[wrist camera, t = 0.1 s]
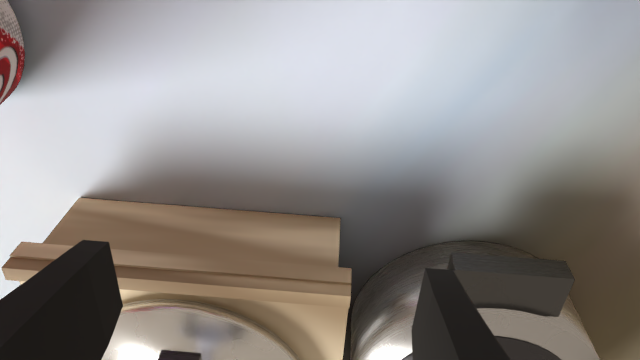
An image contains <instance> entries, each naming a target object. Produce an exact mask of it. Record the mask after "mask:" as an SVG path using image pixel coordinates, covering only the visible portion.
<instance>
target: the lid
mask: <svg viewBox="0 0 640 360" xmlns="http://www.w3.org/2000/svg"><path fill="white" fill-rule="evenodd" d="M101 360H300V358H299V357H298V355H297V354H296V353H295V352H294V351H293V350H292V349H291V347H290V346H289V345H288V344H287V343H286V342H284V341H283V340H282V339H281V338H280V337H279V336H278V335H276V334H275V333H273V332H272V331H270V330H269V329H267V328H266V327H265V326H263V325H261V324H259V323H257V322H256V321H254V320H252V319H250V318H248V317H246V316H243V315H241V314H239V313H236V312H234V311H231V310H228V309H225V308H222V307H218V306H215V305H211V304H206V303H202V302H196V301H189V300H181V299H151V300H142V301H136V302H130V303H126V304H123V307H122V310H121V313H120V316H119V318H118V321H117V324H116V327H115V330H114V332H113V335H112V337H111V340H110V342H109V345H108V347H107V349H106V351H105V353H104V355H103V357H102V359H101Z"/></svg>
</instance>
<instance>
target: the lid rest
mask: <svg viewBox="0 0 640 360" xmlns="http://www.w3.org/2000/svg"><path fill="white" fill-rule="evenodd" d="M340 220H341V218H332V217H319V216H307V215H294V214H281V213H268V212H255V211H242V210H230V209H217V208H204V207H191V206H178V205H165V204H153V203H140V202H127V201H114V200H101V199H88V198H79V199H78V200H77V201H76V202H75V204H74V205H73V206H72V207H71V209H70V210H69V211H68V212H67V214H66V215H65V216H64V217H63V218H62V220H61V221H60V222H59V223H58V225H57V226H56V227H55V228H54V230H53V231H52V232H51V233H50V235H49V236H48V237H47V238H46V240H45V241H44V242H43V243H31V242H21V243H20V244H19V245H18V246H17V248H16V249H15V250H14V251H13V252H12V253H11V255H10V259H9V260H8V261H7V262H6V263H5V264H4V266H3V267H2V271H3V273H4V276H5V279H6V280H14V281H19V282H20V284H23V283H24V282H26V281H27V280H28V279H30V278H31V277H33V276H34V275H35V274H37V273H38V272H39V271H41V270H42V269H43V268H45V267H46V266H47V265H49V264H50V263H51V262H53V261H54V260H55V259H57V258H58V257H59V256H61V255H62V254H64V253H65V252H66V251H68V250H69V249H70V248H72V247H73V246H75V245H76V244H77V243H79V242H80V241H82V240H92V241H104V242H109V244H110V249H111V253H112V258H113V262H114V267H115V272H116V276H117V281H118V285H119V290H120V295H121V299H122V304H126V303H130V302H136V301H142V300H151V299H181V300H189V301H196V302H202V303H206V304H211V305H215V306H218V307H222V308H225V309H228V310H231V311H234V312H236V313H239V314H241V315H243V316H246V317H248V318H250V319H252V320H254V321H256V322H257V323H259V324H261V325H263V326H265V327H266V328H267V329H269V330H270V331H272V332H273V333H275V334H276V335H278V336H279V337H280V338H281V339H282V340H283V341H284V342H286V343H287V344H288V345H289V346H290V347H291V349H292V350H293V351H294V352H295V353H296V354H297V355H298V357H299V358H300V360H343V351H344V342H345V334H346V325H347V316H348V308H350V300H351V268H342V267H338V262H339V241H340Z"/></svg>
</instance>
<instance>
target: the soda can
mask: <svg viewBox="0 0 640 360" xmlns="http://www.w3.org/2000/svg"><path fill="white" fill-rule="evenodd" d="M24 59H25V51H24V42H23V37H22V33H21V30H20V26H19V23H18V21H17V19H16V16H15V14H14V11H13V10H12V8H11V6H10V4H9V2H8V1H7V0H0V104H1V103H2V102H4V101H5V100H6V99H7V98H8V97H9V96H10V94H11V93H12V92H13V91H14V90H15V88H16V87H17V85H18V83H19V81H20V79H21V76H22V72H23V69H24Z"/></svg>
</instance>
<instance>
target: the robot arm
mask: <svg viewBox="0 0 640 360" xmlns="http://www.w3.org/2000/svg"><path fill="white" fill-rule="evenodd" d="M122 307H123V304H122V299H121V295H120V290H119V285H118V281H117V276H116V272H115V267H114V262H113V258H112V253H111V249H110V244H109V242H104V241H92V240H82V241H80V242H79V243H77V244H76V245H75V246H73V247H72V248H70V249H69V250H68V251H66V252H65V253H64V254H62V255H61V256H59V257H58V258H57V259H55V260H54V261H53V262H51V263H50V264H49V265H47V266H46V267H45V268H43V269H42V270H41V271H39V272H38V273H37V274H35V275H34V276H33V277H31V278H30V279H28V280H27V281H26V282H24V283H23V284H21V285H20V286H19V287H17V288H16V289H15V290H13V291H12V292H10V293H9V294H8V295H6V296H5V297H4V298H2V299H1V300H0V360H101V359H102V357H103V355H104V353H105V351H106V349H107V347H108V345H109V342H110V340H111V337H112V335H113V332H114V330H115V327H116V324H117V321H118V318H119V316H120V313H121V310H122ZM411 332H412V355H413V360H511V359H510V357H509V356H508V355H507V353H506V352H505V350H504V349H503V347H502V346H501V344H500V343H499V342H498V340H497V339H496V337H495V336H494V334H493V333H492V332H491V330H490V329H489V327H488V326H487V324H486V323H485V321H484V319H483V318H482V316H481V315H480V313H479V312H478V310H477V308H476V307H475V305H474V304H473V302H472V300H471V299H470V297H469V296H468V294H467V292H466V291H465V289H464V287H463V285H462V284H461V282H460V280H459V279H458V277H457V275H456V274H455V273H454V271H453V270H445V269H433V268H425V271H424V275H423V280H422V284H421V289H420V293H419V298H418V303H417V307H416V312H415V316H414V321H413V325H412V330H411Z"/></svg>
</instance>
